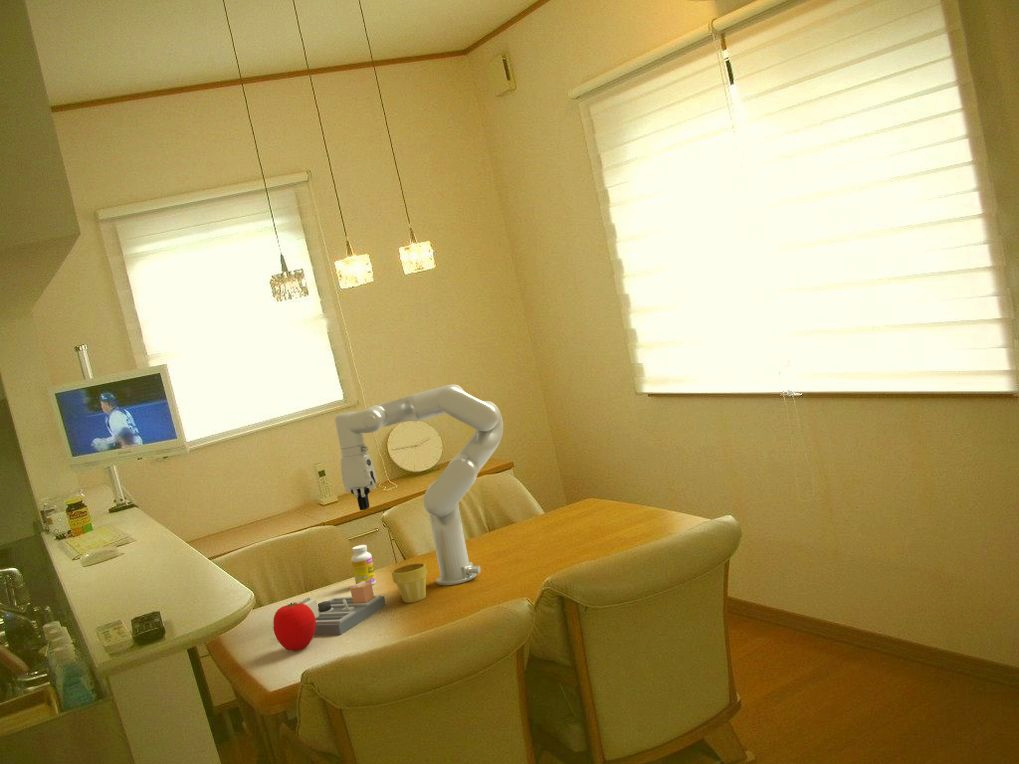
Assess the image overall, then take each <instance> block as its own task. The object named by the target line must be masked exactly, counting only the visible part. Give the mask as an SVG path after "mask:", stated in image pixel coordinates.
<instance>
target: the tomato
mask: <svg viewBox="0 0 1019 764" xmlns="http://www.w3.org/2000/svg"><path fill="white" fill-rule="evenodd" d="M272 624H273V627H272V628H273V629H272V630H273V634H274V636H275V638H276V640H277V642H278V643H279V644H280V645H281V646H282V647H283V648H284V650H287V651H289V652H290V651H291V652H298V651H302V650H304V649H305V648H307V647H308V646H309V645H310V643H311V642H312V640H313V637H315V636H314V633H315V629H316V619H315V616H314V613H313V612H312V610H311V609H310V608H309V607H308V606H307V605H305V604H303V603H299V602H290V604H285V605H283V606H281V607H279V608H278V609H277V610H276V612H274V615H273V621H272Z"/></svg>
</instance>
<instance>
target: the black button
mask: <svg viewBox="0 0 1019 764" xmlns="http://www.w3.org/2000/svg"><path fill="white" fill-rule="evenodd" d="M317 607H318V608H319V612H324V611H328V610H330V609H331V604H330V601H328V600H326V601H325V600H324V601H321V602H318V603H317Z"/></svg>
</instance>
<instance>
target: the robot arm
mask: <svg viewBox="0 0 1019 764" xmlns="http://www.w3.org/2000/svg"><path fill="white" fill-rule="evenodd" d="M446 414H447V415H448V416H450V417H451V418H454V419H455V420H457V421H460V422H461V423H464V424H466V425H467V426H469V427H471V428H472V429H475V430H474V432H473V434H472V436H471V437H469V439H468V440H467V442H466V444H465V445H464V446H463V447H462V448H461V449H460V450H459V452H457V454H456V455H455V456H454V457H452V458H451V460H450V461H449V463H448V464H447V466H446V468H444V470H443V471H442V473H441V474H440V475H439V476H438V477H437V478H436V479H435V481H433V482H431V484H430V485H429V486H428V487H427V489H426V490H425V493H424V496H423V499H422V500H423V501H422V502H423V507H424V510H425V511H426V513H428V515H429V521H430V526H431V532H432V536H433V537H432V538H433V541H434V542H433V543H434V548H435V553H436V558H437V559H436V560H437V563H438V567H439V575H440V576H439V577H437V578H436V580H435V581H436V584H437V585H438V586H439V585H440V586H452V585H460V584H462V583H466V582H468V581H471V580H473V579H475V578H476V576H477V574H481V572H482V571H481V570H482V569H481V566H480V565H474V564H473V561H469V560H470V559H469V556H468V550H467V545H466V540H465V534H464V529H463V523H462V518H461V517H462V516H461V512H460V504H459V503H460V501H461V500H462V498H464V497H465V495H467V493H468V492H469V490H470V489H471V488H472V486H473V485H474V484H475V483H476V480H477V478H478V474H479V473H480V471H481V470H482V469H483V467H484V465H486V463H487V462H488V461H489V459H490V458H491V457H492V455H493V454H494V452H496V450H497V448H498V447H499V445H500V444H501V440H502V437H503V434H504V420H503V417H502V413H501V411H500V409H499V408H498V406H497V405H496V404H495V403H494V402H493V401H489V400H481V399H479V398H476V397H475V396H472V395H471V394H469V393H468V392H466V391H465V390H464V389H463V388H462V387H461V386H460V385H458V384H454V383H453V384H447V385H444V386H440V387H439V386H438V387H435V388H432V389H429V390H428V389H427V390H425V391H424V390H423V391H421V392H416V393H413V394H409V395H406V396H404V397H401V398H397V399H394V400H391V401H390V400H389V401H386V402H383V403H379V404H375V405H371V406H370V407H367V408H365V409H363V410H361V411H348V412H344V413H343V412H342V413H339V414H337V415H335V418H334V422H335V427H336V431H337V432H336V433H337V437H338V441H339V448H340V453H341V458H340V470H341V471H340V472H341V478H342V483H343V487H344V488H345V492H346V493H350V494H352V495H353V496H354V498H355V499H356V500H357V503H358V504H357V505H358V508H359V511H366V510H368V509H369V508H370V501H369V495H370V493H371V491H373V490H375V489H377V485H376V483H377V482H378V478H377V473H376V470H375V466H374V463H373V459H372V458H371V456H370V454H369V453H367V452H368V451H369V446H366V445H365V440H364V434H371V433H377V432H378V431H380V430H381V429H382V428H386V427H389V426H392V425H393V426H394V425H396V424H401V423H405V422H413V423H414V422H421V421H425V420H428V419H432V418H435V417H439V416H442V415H446Z"/></svg>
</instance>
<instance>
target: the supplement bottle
mask: <svg viewBox="0 0 1019 764" xmlns="http://www.w3.org/2000/svg"><path fill="white" fill-rule="evenodd" d="M352 552H353V555H352V556H351V558H350V559H351V564H352V565H351V566H352V571H353V576H354V581H355V585H356V584H358V583H360V582H362V581H365V583H368V582H371V584H372V586H373V585H376V583H377V577H376V573H375V568H374V562H373V556H372V554H371V553H370V552H368V547H367V545H366V544H359V545H357V546H353V547H352Z"/></svg>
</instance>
